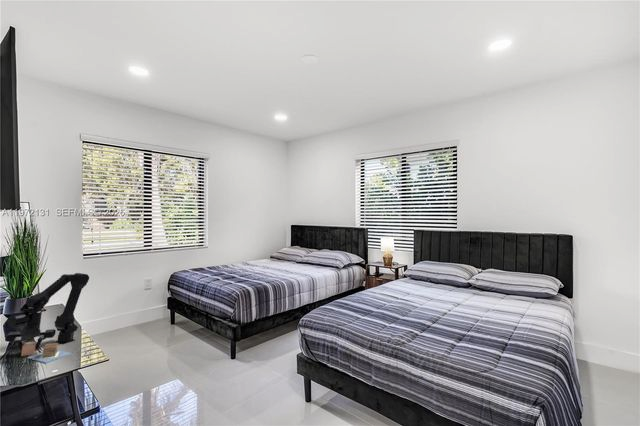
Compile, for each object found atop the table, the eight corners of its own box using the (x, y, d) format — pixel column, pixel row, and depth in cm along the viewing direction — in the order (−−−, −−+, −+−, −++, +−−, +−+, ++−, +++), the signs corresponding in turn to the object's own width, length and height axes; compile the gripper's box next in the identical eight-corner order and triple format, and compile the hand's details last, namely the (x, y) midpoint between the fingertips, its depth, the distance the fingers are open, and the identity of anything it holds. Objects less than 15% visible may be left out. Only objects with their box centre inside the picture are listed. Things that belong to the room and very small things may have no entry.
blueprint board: (52, 349, 168) (52, 348, 168) (70, 354, 165) (71, 353, 165) (27, 358, 157) (27, 357, 157) (46, 363, 153) (46, 362, 153)
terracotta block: (24, 352, 163) (25, 342, 163) (36, 351, 165) (38, 341, 165) (21, 356, 158) (22, 346, 159) (34, 354, 161) (35, 345, 161)
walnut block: (44, 353, 162) (45, 344, 162) (56, 352, 164) (58, 343, 164) (42, 357, 157) (43, 347, 158) (54, 356, 160) (56, 346, 160)
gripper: (3, 327, 151) (-2, 360, 150) (52, 324, 160) (48, 355, 160) (11, 320, 161) (7, 351, 160) (57, 318, 170) (53, 347, 169)
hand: (29, 351), depth 162 cm, fingers closed on terracotta block, 5 cm apart
